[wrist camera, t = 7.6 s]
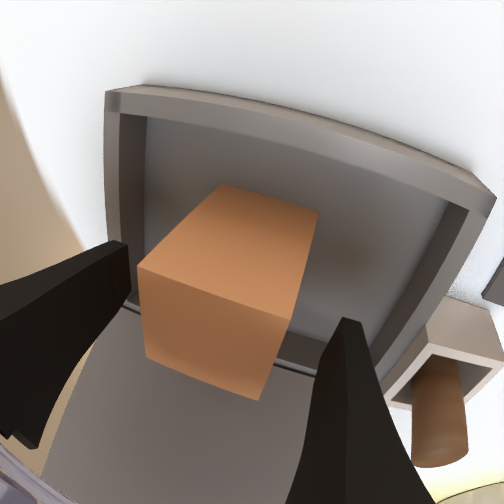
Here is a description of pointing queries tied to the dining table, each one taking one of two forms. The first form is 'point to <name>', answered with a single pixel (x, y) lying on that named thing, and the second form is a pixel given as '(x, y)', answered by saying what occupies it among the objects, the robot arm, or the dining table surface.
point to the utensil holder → (479, 496)
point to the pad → (496, 287)
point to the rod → (438, 414)
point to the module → (225, 288)
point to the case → (307, 303)
